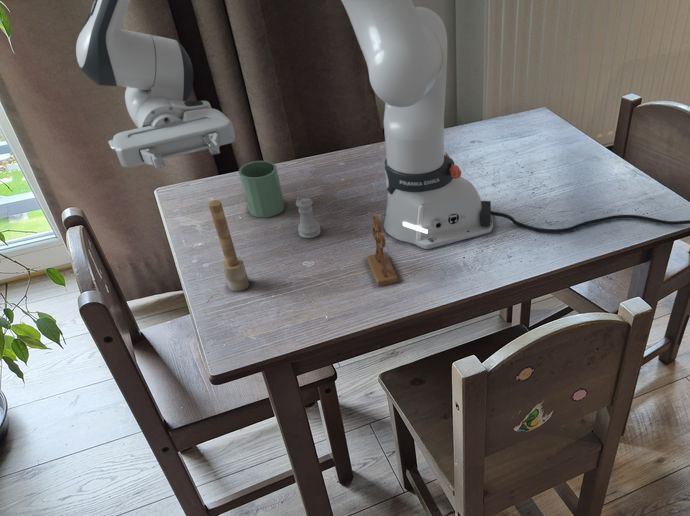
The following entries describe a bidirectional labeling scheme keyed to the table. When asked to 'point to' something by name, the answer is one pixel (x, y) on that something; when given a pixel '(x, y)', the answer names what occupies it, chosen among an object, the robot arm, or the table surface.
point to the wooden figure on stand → (380, 258)
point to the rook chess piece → (307, 218)
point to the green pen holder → (262, 188)
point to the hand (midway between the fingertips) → (187, 156)
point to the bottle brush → (228, 250)
